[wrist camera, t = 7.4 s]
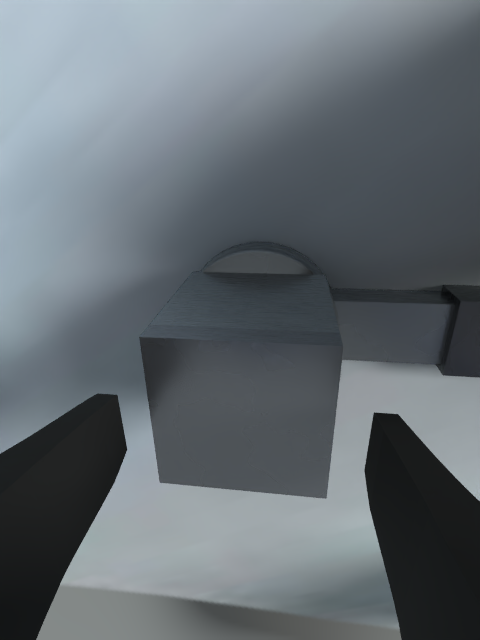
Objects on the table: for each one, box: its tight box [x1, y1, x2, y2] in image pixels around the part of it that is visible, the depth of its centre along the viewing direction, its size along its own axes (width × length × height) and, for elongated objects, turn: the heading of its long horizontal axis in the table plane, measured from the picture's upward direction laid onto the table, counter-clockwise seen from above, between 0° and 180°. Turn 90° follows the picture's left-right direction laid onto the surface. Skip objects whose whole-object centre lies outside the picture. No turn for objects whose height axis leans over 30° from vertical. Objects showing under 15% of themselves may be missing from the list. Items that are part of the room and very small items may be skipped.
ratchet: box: [201, 242, 480, 377], centre depth 15 cm, size 20×7×4 cm, turn 90°
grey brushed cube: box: [140, 272, 343, 498], centre depth 14 cm, size 5×5×6 cm
